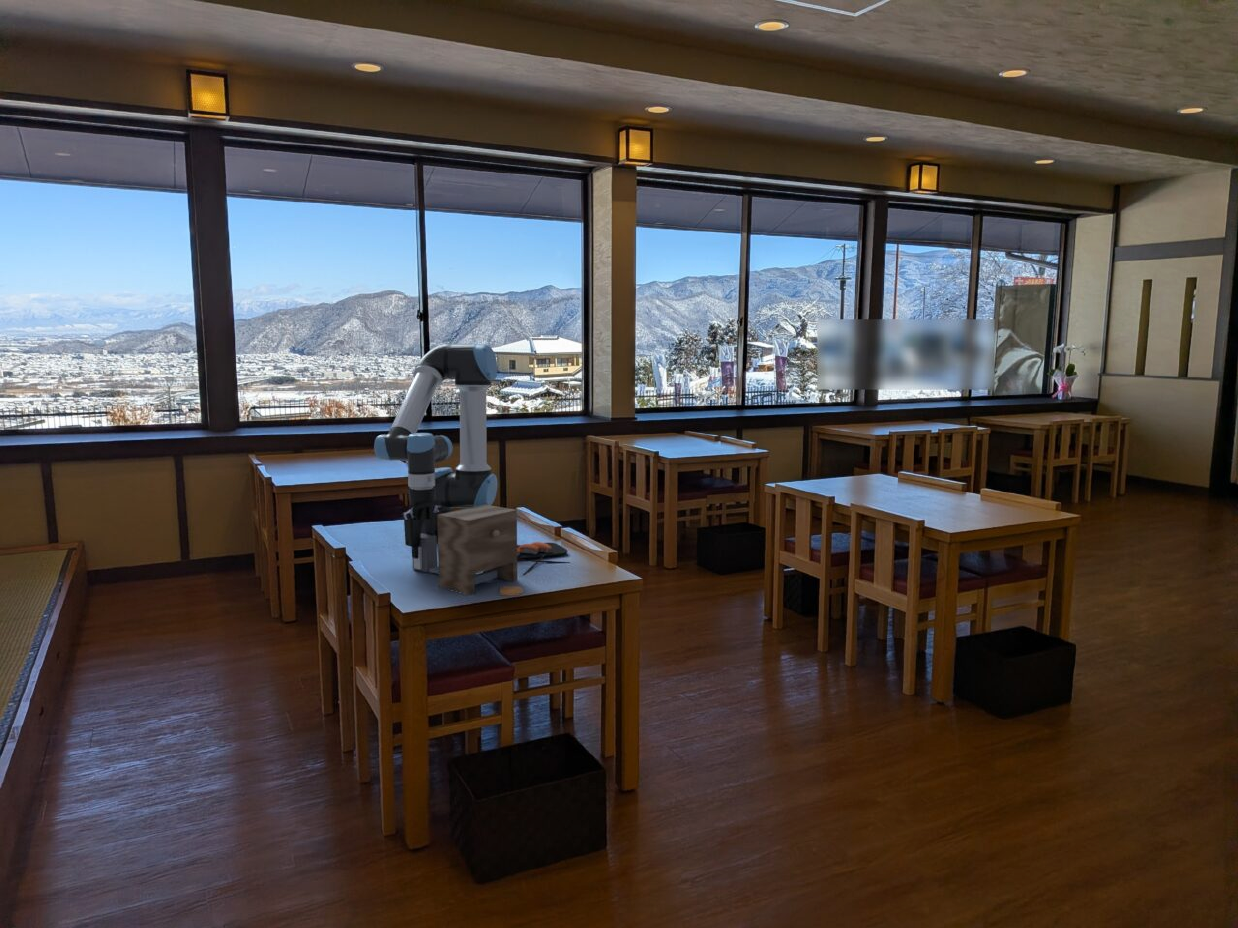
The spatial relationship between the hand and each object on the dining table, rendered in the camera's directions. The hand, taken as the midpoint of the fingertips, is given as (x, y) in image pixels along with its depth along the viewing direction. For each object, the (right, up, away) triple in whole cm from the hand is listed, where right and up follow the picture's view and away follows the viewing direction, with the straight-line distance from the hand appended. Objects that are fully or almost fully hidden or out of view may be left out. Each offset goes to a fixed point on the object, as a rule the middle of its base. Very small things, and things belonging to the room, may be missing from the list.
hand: (424, 566), depth 248 cm
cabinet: (+18, -3, -13) cm, 23 cm away
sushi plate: (+29, -1, +11) cm, 31 cm away
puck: (+28, -5, -21) cm, 35 cm away
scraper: (+9, -1, -6) cm, 11 cm away
